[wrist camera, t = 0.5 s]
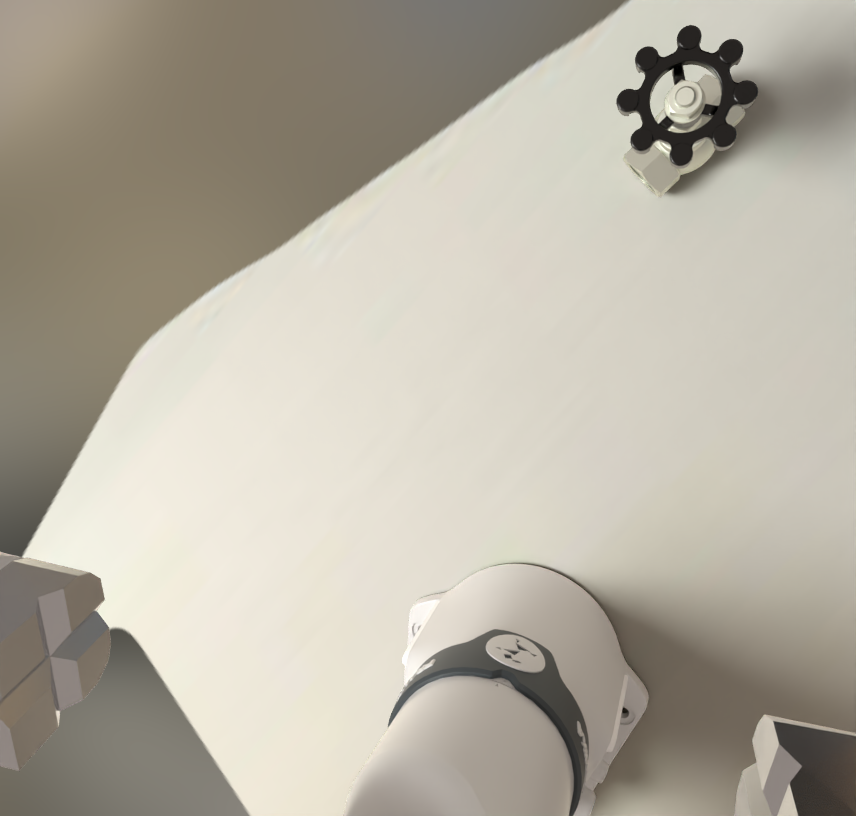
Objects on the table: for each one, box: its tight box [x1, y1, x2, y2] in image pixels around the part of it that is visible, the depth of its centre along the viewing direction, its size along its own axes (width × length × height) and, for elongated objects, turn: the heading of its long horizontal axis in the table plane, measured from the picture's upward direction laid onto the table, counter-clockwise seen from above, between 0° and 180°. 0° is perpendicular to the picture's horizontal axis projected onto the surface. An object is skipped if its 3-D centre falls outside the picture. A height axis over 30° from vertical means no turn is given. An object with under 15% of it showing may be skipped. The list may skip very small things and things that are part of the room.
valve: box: [617, 25, 758, 197], centre depth 41 cm, size 7×7×12 cm
